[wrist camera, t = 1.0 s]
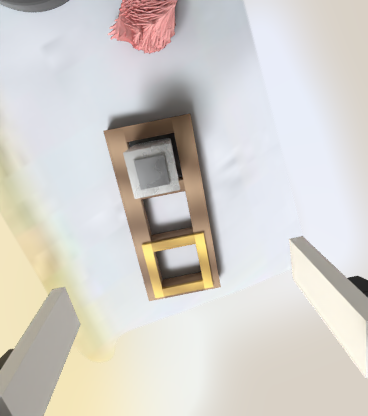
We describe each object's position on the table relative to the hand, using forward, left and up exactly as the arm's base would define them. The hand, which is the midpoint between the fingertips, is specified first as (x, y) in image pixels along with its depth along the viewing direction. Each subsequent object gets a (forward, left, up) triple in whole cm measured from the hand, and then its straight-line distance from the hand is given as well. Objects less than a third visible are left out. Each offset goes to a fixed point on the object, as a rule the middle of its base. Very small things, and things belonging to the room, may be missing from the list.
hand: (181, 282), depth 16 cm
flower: (-19, +1, -22) cm, 29 cm away
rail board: (+2, -1, -21) cm, 21 cm away
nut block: (-5, -1, -21) cm, 22 cm away
